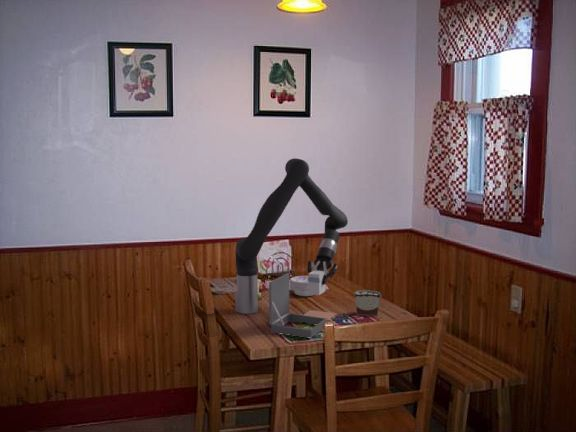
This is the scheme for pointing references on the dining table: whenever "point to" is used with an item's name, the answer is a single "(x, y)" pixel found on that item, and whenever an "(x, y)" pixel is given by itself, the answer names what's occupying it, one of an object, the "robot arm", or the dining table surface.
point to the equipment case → (281, 311)
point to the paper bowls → (300, 285)
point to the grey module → (316, 282)
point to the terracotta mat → (320, 314)
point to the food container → (367, 302)
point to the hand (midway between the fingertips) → (316, 283)
